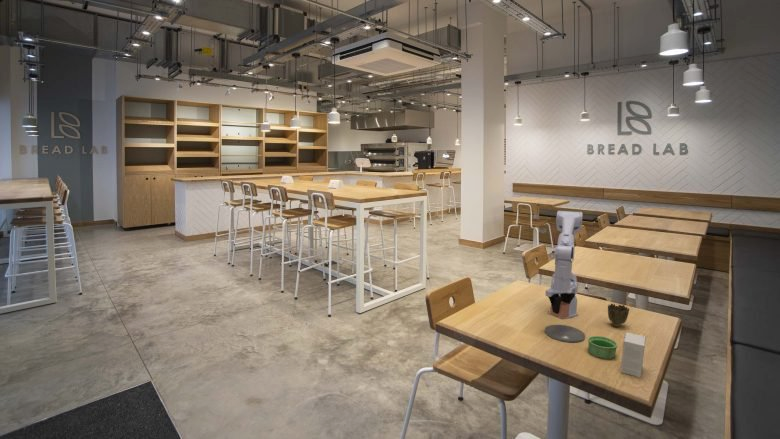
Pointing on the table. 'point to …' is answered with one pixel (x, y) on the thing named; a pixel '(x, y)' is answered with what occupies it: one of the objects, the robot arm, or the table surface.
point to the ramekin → (602, 347)
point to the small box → (633, 354)
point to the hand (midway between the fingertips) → (559, 311)
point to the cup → (617, 314)
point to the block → (561, 310)
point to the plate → (565, 333)
